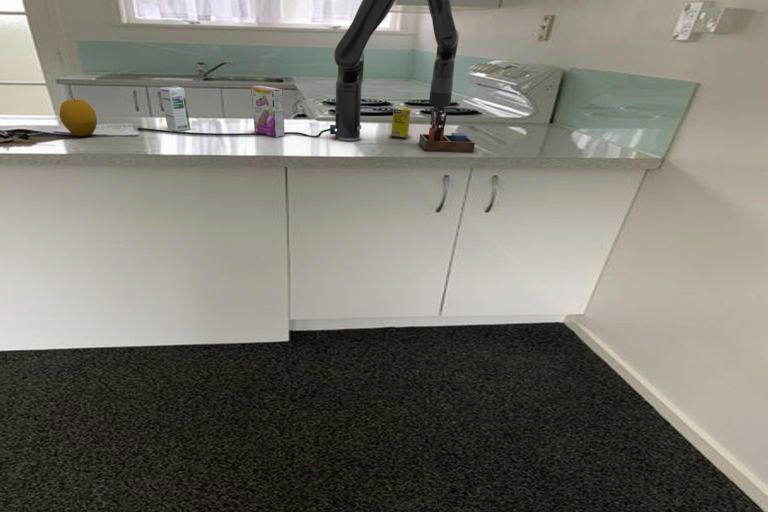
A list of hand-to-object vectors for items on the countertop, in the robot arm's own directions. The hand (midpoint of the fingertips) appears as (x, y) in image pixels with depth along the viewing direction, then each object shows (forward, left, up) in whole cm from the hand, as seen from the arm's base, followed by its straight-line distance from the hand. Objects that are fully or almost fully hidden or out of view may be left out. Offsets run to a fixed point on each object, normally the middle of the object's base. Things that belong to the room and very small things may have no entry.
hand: (435, 140), depth 154 cm
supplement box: (-11, +15, -3) cm, 19 cm away
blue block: (+9, 0, -2) cm, 9 cm away
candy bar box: (-61, +11, -3) cm, 62 cm away
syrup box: (-94, +14, -3) cm, 95 cm away
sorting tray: (+4, 0, -3) cm, 5 cm away
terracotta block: (0, 0, 0) cm, 0 cm away
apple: (-119, -2, -3) cm, 119 cm away
